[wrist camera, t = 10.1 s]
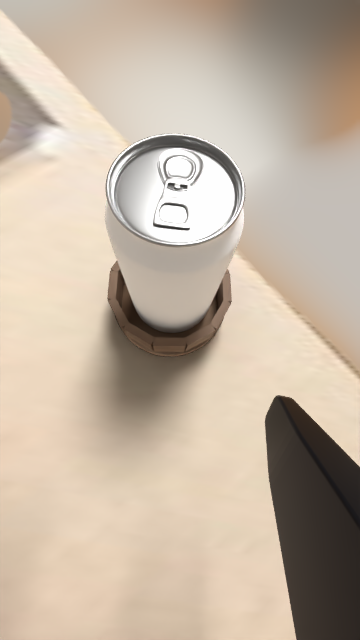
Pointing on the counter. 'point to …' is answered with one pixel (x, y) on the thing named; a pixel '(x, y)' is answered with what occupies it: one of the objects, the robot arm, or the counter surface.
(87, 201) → the counter surface
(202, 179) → the can
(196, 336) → the holder
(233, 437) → the counter surface
